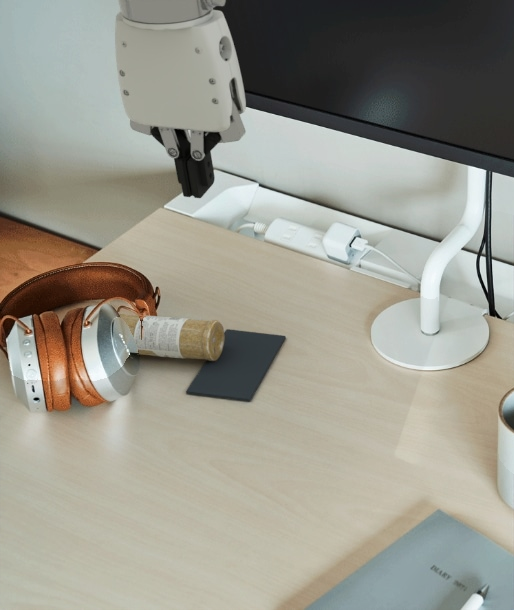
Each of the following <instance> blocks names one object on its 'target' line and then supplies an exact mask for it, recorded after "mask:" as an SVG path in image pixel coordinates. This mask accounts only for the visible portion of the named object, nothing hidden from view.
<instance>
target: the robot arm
mask: <svg viewBox="0 0 514 610" xmlns="http://www.w3.org/2000/svg"><path fill="white" fill-rule="evenodd" d="M226 2H227V0H118V5H119V9H120V10H119V12H118V13H117V14H116V15H115V28H114V30H115V31H114V45H115V47H114V48H115V60H116V70H117V77H118V85H119V91H120V96H121V97H120V98H121V101H122V105H123V108H124V112H125V114H126V116H127V117H128V119H130V120H129V126H130V128H131V129H132V131H134V132H138V133H140V134H144V135H148V136H152V137H153V138H154V139H155V140H156V141H157V142H158V143H159V144H160V145H161V146H163V147H164V149H165V151H166V154H167V156H168V157H169V158H171V159H173V160H174V167H175V172H176V177H177V182H178V184H179V185H181V191H182V195H183V197H185V198H191V197H193V198H194V199H202V197H204V195H205V194H206V193H207V192H208V191H209V190H210V188H211V187H212V186H213V185H214V183H215V172H214V164H213V159H212V152H211V151H212V150H213V149H214V148H216V146H217V145H218V144H221V143H223V144H226V143H233V142H238V141H240V140H241V139H242V138H243V137H244V136H245V135H246V128H245V125H244V123H243V120H242V117H241V114H243V113H245V112H246V107H247V100H246V93H245V87H244V82H243V77H242V72H241V68H240V63H239V60H238V59H239V58H238V55H237V51H236V47H235V45H234V43H235V42H234V40H233V37H232V34H231V31H230V28H229V26H228V22H227V19H226V18H225V17H226V16H225V15H224V12H223V11H222V10H218V9H215V8H217V7H225V5H226ZM189 131H190V132H189Z"/></svg>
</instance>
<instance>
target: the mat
mask: <svg viewBox="0 0 514 610" xmlns="http://www.w3.org/2000/svg"><path fill="white" fill-rule="evenodd" d="M224 335H225V341H224V346H223V350H222V353H221V355H220V357H219V358H218V359H217V360H215V361H209V360H206V359H205V361H204V363H203V365H202V366H201V367H200V369H199V371H198V372H197V374H196V375H195V377H194V378H193V380H192V381H191V383H190V384H189V386H188V387H187V388H186V390H185V394H186V395H192V396H199V397H207V398H216V399H222V400H223V399H224V400H230V401H231V400H232V401H240V402H247V403H250V402H251V401H252V399H253V398H254V395H255V394H256V392H257V390H258V388H259V387H260V385H261V383H262V382H263V380H264V377H265V376H266V374H267V373H268V371H269V369H270V368H271V365H272V364H273V362H274V360H275V358H276V356H277V355H278V353H279V351H280V350H281V348H282V346H283V345H284V342H285V341H286V335H283V334H281V335H280V334H273V333H266V332H265V333H263V332H256V331H246V330H237V329H230V328H227V329H225V330H224Z"/></svg>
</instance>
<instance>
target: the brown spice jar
mask: <svg viewBox="0 0 514 610" xmlns="http://www.w3.org/2000/svg"><path fill="white" fill-rule="evenodd" d="M118 313H119V315H120V317H121V318H122V319H123V320H124V321H125V322H126V324H127V325H128V326H129V329H130V331H131V333H132V335H133V337H134V338H135V341H136V344H137V347H138V348H139V354H138V355H141V356H144V355H145V356H152V357H161V358H172V359H174V358H175V359H195V360H205V361H206V360H209V361H215V360H217V359H218V358H219V357H220V355H221V353H222V350H223V346H224V341H225V335H224V332H225V329H224V326H223V324H222V322H221V321H220V320H218V319H213V320H212V319H211V320H203V319H192V318H188V317H187V318H186V317H172V316H160V315H159V316H158V315H145V316H146V317H144V318H143V321H142V326H143V338H142V340H141V321H140V318H139V316H140V315H138V314H125V313H121V312H118Z"/></svg>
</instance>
